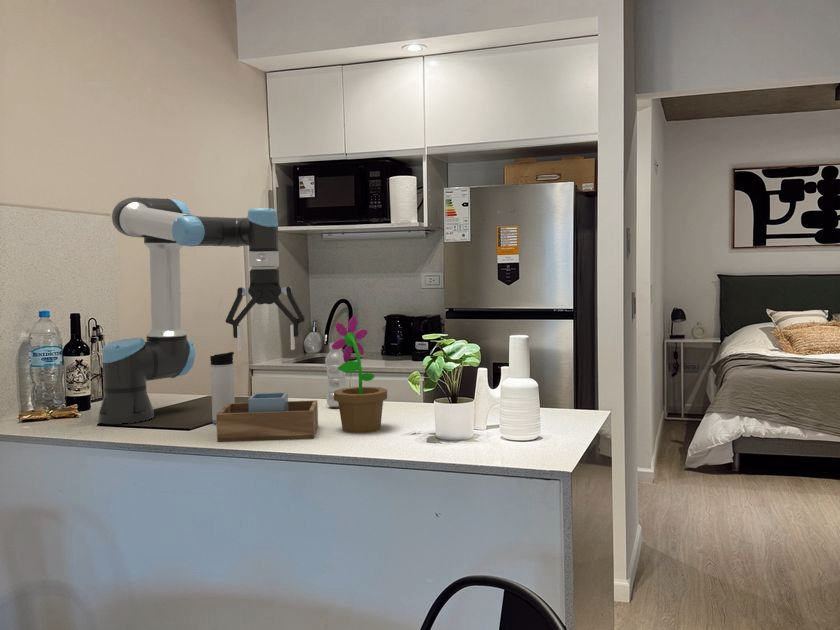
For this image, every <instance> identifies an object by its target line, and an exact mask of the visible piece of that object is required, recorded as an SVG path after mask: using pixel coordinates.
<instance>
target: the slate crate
mask: <svg viewBox="0 0 840 630" xmlns="http://www.w3.org/2000/svg"><path fill="white" fill-rule="evenodd" d="M247 401H248V402H247V403H248V404H249V413H252V412H283V411H288V401H289V393H288V392H259V393H257V392H256V393H255V392H254V393H253V394H252V395H251V396H250V397H249V398H248V400H247Z"/></svg>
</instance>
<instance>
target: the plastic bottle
mask: <svg viewBox="0 0 840 630" xmlns="http://www.w3.org/2000/svg"><path fill="white" fill-rule="evenodd" d="M333 343H334V342H329V347H328V349H329V352H328V354H327V355H326V356H325V360H324V361H325V363H324V364H325V369H326V373H327V374H326V376H327V393H326V404H327V406H328V407H331V408H334V409H335V408H336V409H339V403H338V402H337V401H335V400H334V392H335V390H339V389H343V388H347V382H346V374H347V373H345V372H343V371H341V370H338V367H339V366H341V365H342V364H344V363H345V362H344V358H343V353H344V351H342V349H343V347H342V348H340V349H332V345H333Z"/></svg>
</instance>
